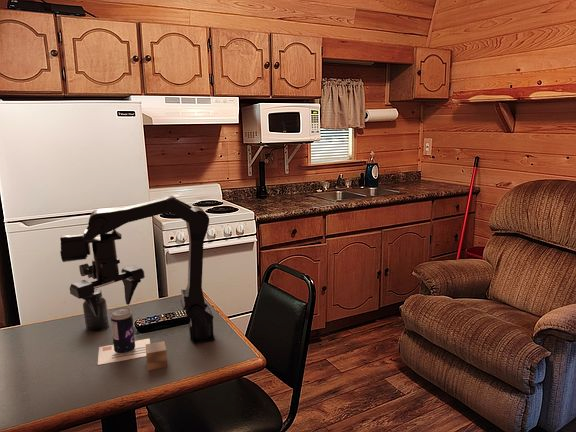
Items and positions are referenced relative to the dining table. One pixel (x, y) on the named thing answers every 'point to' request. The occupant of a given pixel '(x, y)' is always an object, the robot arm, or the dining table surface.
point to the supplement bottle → (101, 320)
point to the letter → (111, 356)
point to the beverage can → (123, 331)
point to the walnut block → (156, 355)
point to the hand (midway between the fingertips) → (112, 310)
